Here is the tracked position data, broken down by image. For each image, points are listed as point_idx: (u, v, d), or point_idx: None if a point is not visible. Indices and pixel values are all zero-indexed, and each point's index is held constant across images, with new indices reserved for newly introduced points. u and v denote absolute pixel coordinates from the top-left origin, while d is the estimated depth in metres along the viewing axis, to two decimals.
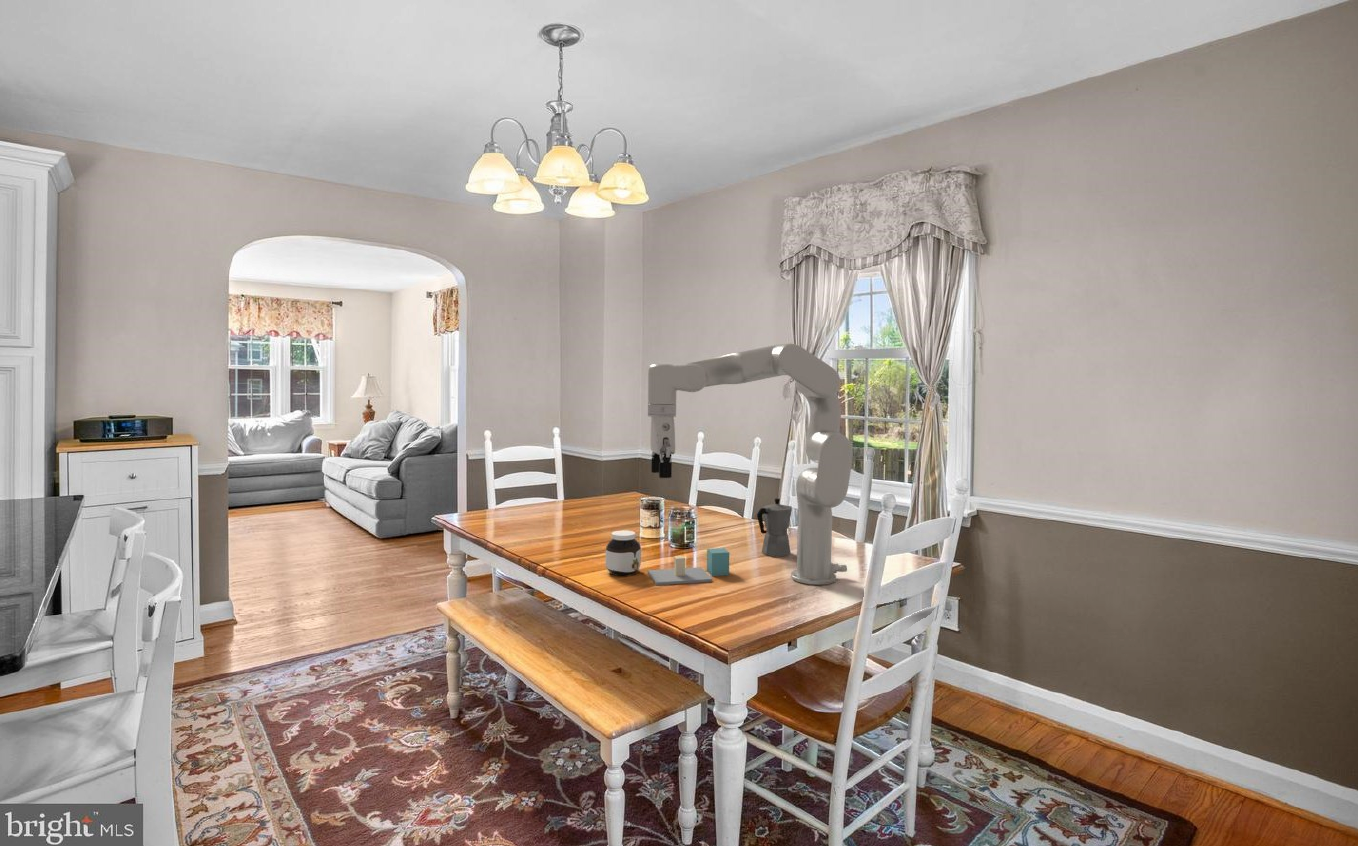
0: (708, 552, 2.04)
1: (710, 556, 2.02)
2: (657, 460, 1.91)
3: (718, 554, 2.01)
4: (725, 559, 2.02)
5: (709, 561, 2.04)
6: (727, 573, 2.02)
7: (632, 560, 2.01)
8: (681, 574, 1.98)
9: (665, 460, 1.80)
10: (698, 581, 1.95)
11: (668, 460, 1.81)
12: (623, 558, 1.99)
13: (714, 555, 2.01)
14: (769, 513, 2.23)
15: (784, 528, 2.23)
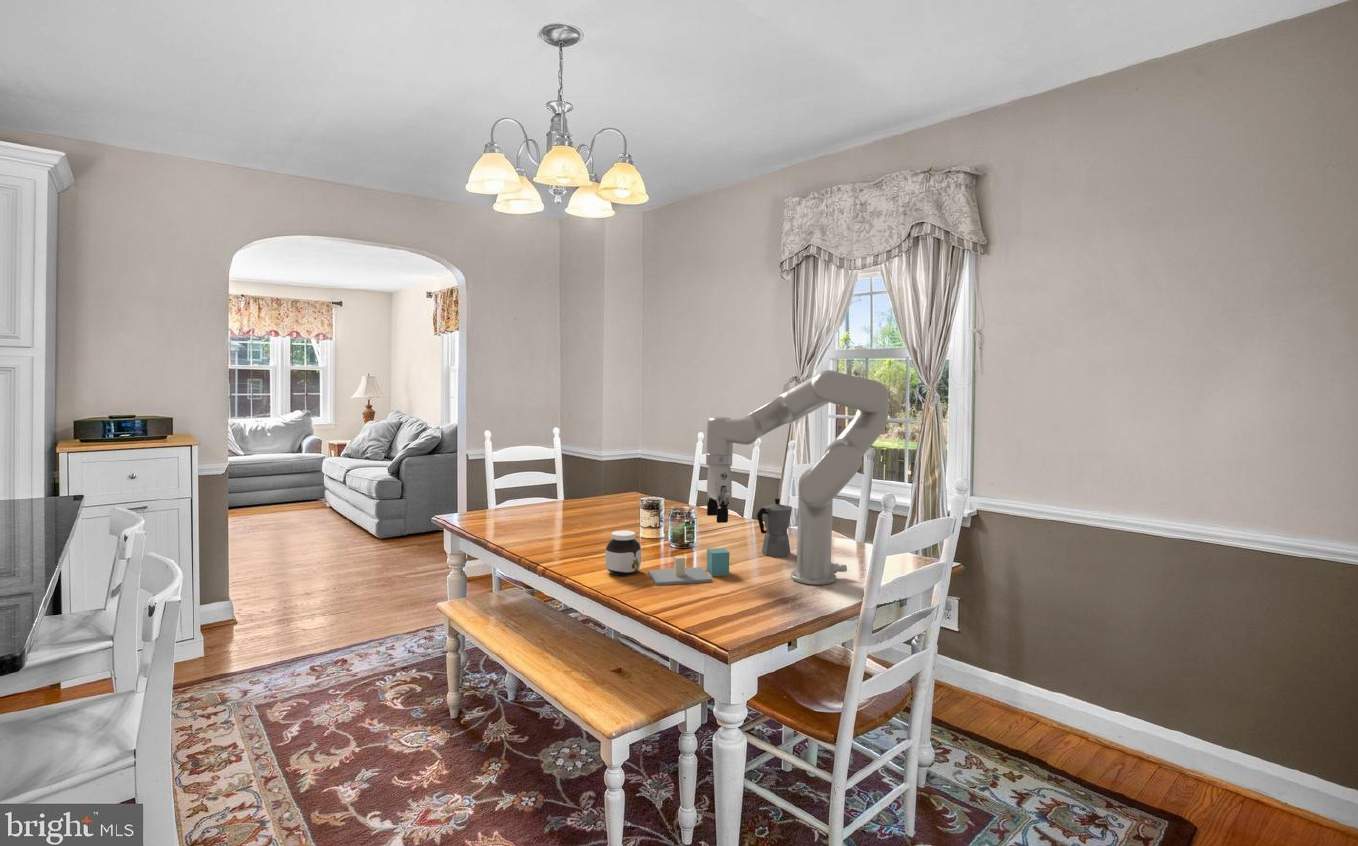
0: (708, 552, 2.04)
1: (710, 556, 2.02)
2: (712, 504, 2.07)
3: (718, 554, 2.01)
4: (725, 559, 2.02)
5: (709, 561, 2.04)
6: (727, 573, 2.02)
7: (632, 560, 2.01)
8: (681, 574, 1.98)
9: (723, 507, 1.96)
10: (698, 581, 1.95)
11: (725, 507, 1.97)
12: (623, 558, 1.99)
13: (714, 555, 2.01)
14: (769, 513, 2.23)
15: (784, 528, 2.23)
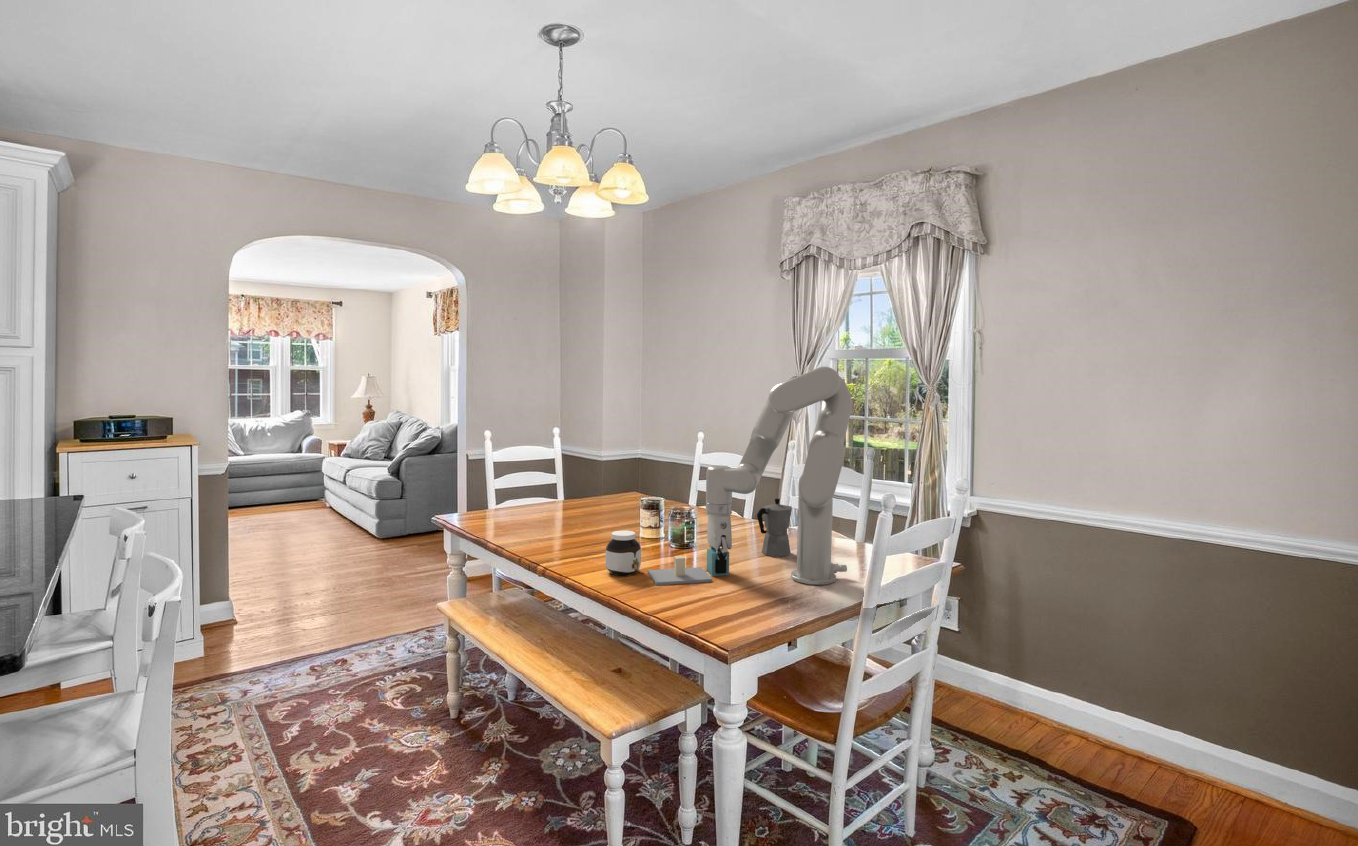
0: (708, 552, 2.04)
1: (710, 556, 2.02)
2: None
3: None
4: None
5: (709, 561, 2.04)
6: (727, 573, 2.02)
7: (632, 560, 2.01)
8: (681, 574, 1.98)
9: (721, 558, 1.99)
10: (698, 581, 1.95)
11: (724, 558, 2.00)
12: (623, 558, 1.99)
13: (714, 555, 2.01)
14: (769, 513, 2.23)
15: (784, 528, 2.23)
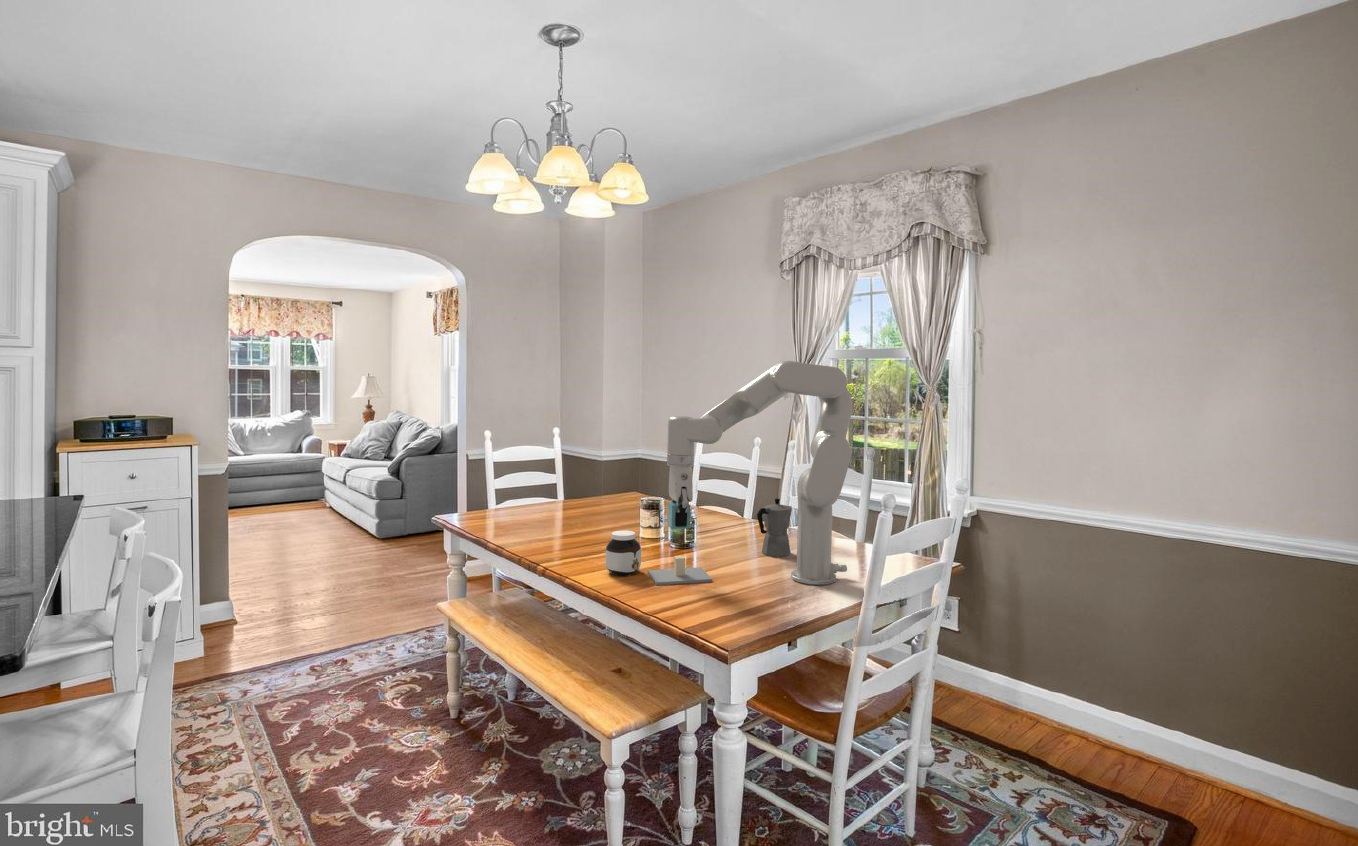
0: (669, 505, 1.98)
1: (670, 509, 1.96)
2: None
3: None
4: None
5: (669, 514, 1.98)
6: (687, 527, 1.96)
7: (632, 560, 2.01)
8: (681, 574, 1.98)
9: (681, 510, 1.93)
10: (698, 581, 1.95)
11: (684, 510, 1.94)
12: (623, 558, 1.99)
13: (674, 507, 1.95)
14: (769, 513, 2.23)
15: (784, 528, 2.23)
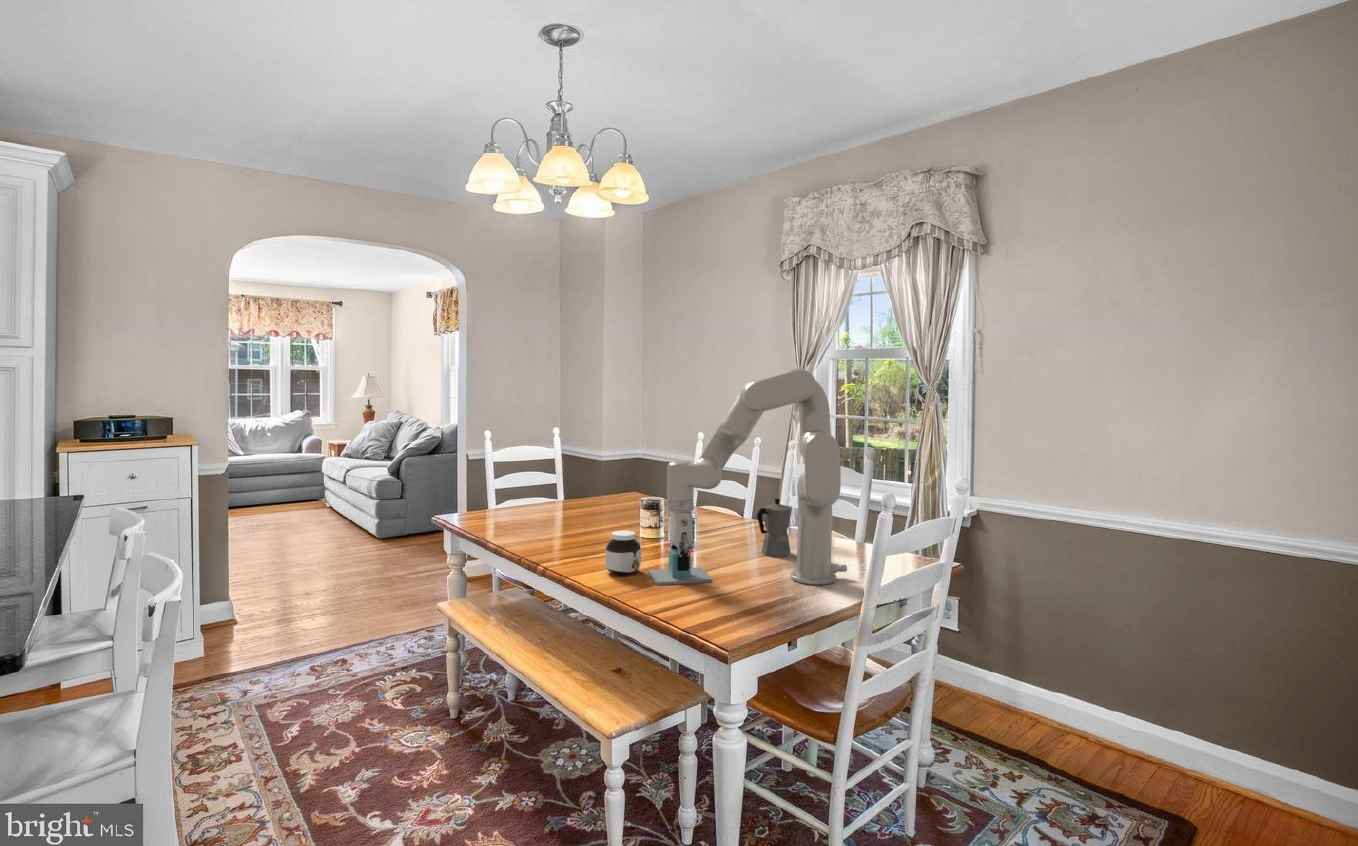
0: (669, 553, 1.99)
1: (671, 557, 1.97)
2: None
3: None
4: None
5: (670, 562, 1.99)
6: (688, 575, 1.97)
7: (632, 560, 2.01)
8: None
9: (683, 555, 1.93)
10: (698, 581, 1.95)
11: (686, 555, 1.93)
12: (623, 558, 1.99)
13: (675, 556, 1.96)
14: (769, 513, 2.23)
15: (784, 528, 2.23)
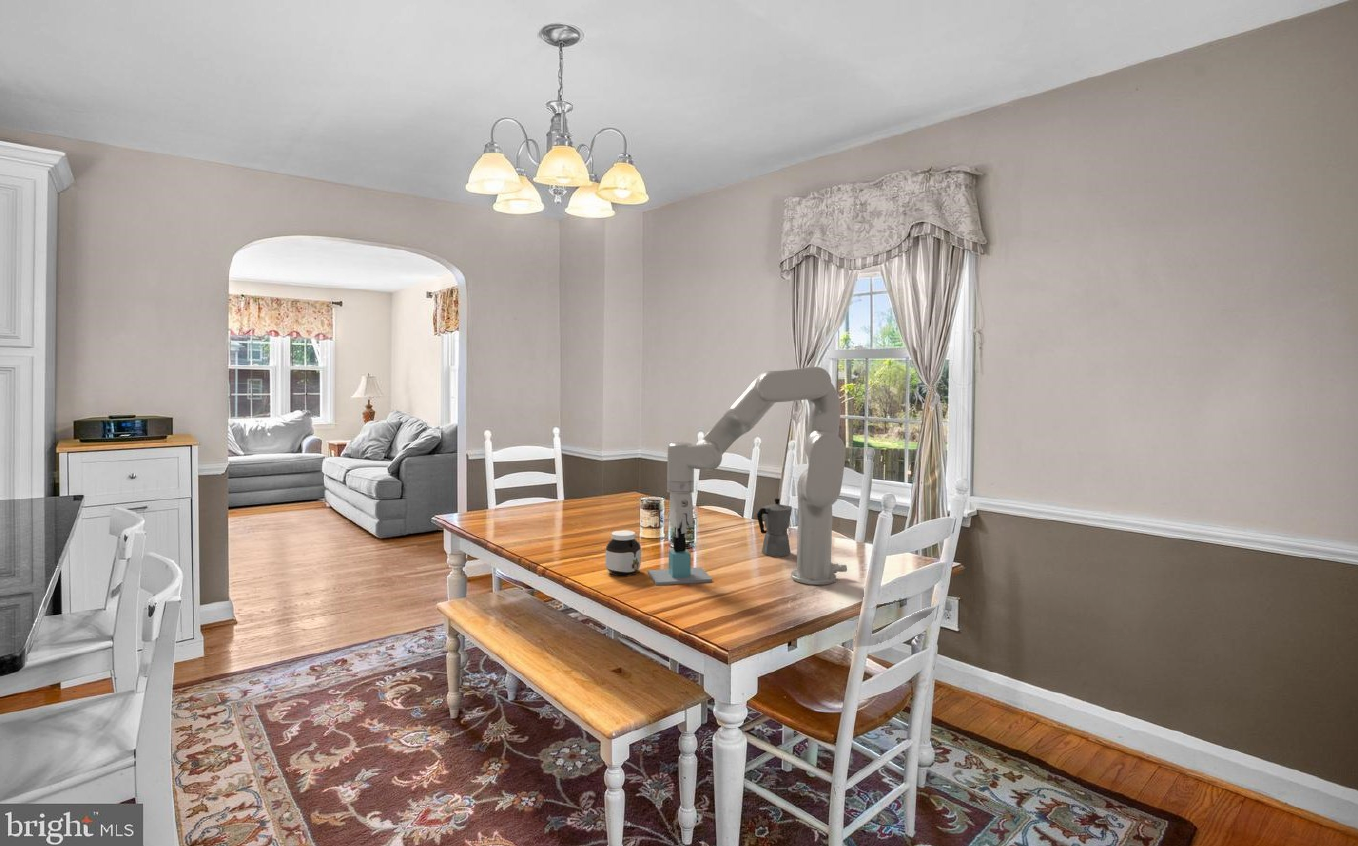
0: (669, 553, 1.99)
1: (671, 557, 1.97)
2: None
3: (679, 555, 1.96)
4: (686, 560, 1.97)
5: (670, 562, 1.99)
6: (688, 575, 1.97)
7: (632, 560, 2.01)
8: None
9: (680, 536, 1.96)
10: (698, 581, 1.95)
11: (683, 536, 1.97)
12: (623, 558, 1.99)
13: (675, 556, 1.96)
14: (769, 513, 2.23)
15: (784, 528, 2.23)
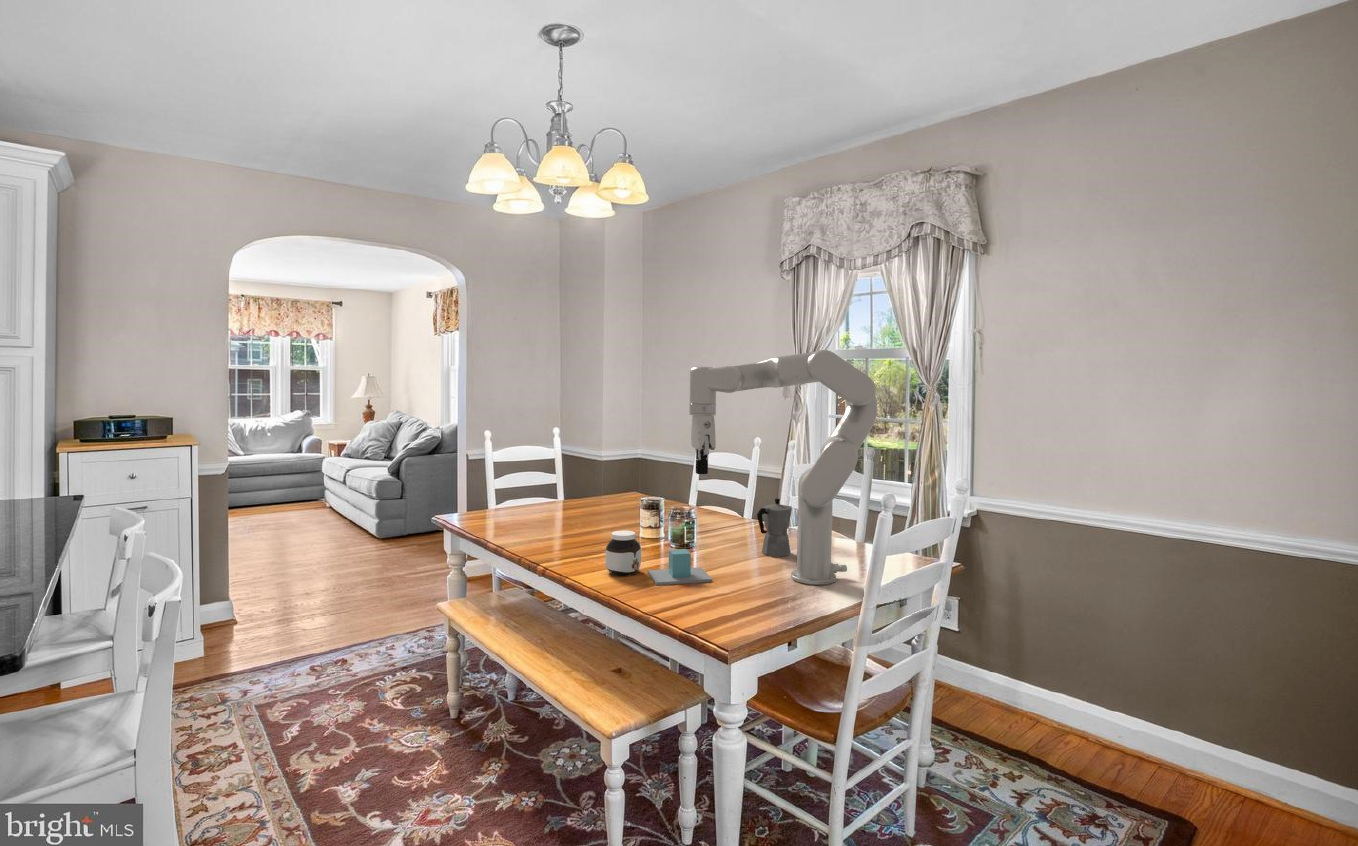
0: (669, 553, 1.99)
1: (671, 557, 1.97)
2: None
3: (679, 555, 1.96)
4: (686, 560, 1.97)
5: (670, 562, 1.99)
6: (688, 575, 1.97)
7: (632, 560, 2.01)
8: None
9: (702, 458, 1.99)
10: (698, 581, 1.95)
11: (705, 458, 2.00)
12: (623, 558, 1.99)
13: (675, 556, 1.96)
14: (769, 513, 2.23)
15: (784, 528, 2.23)
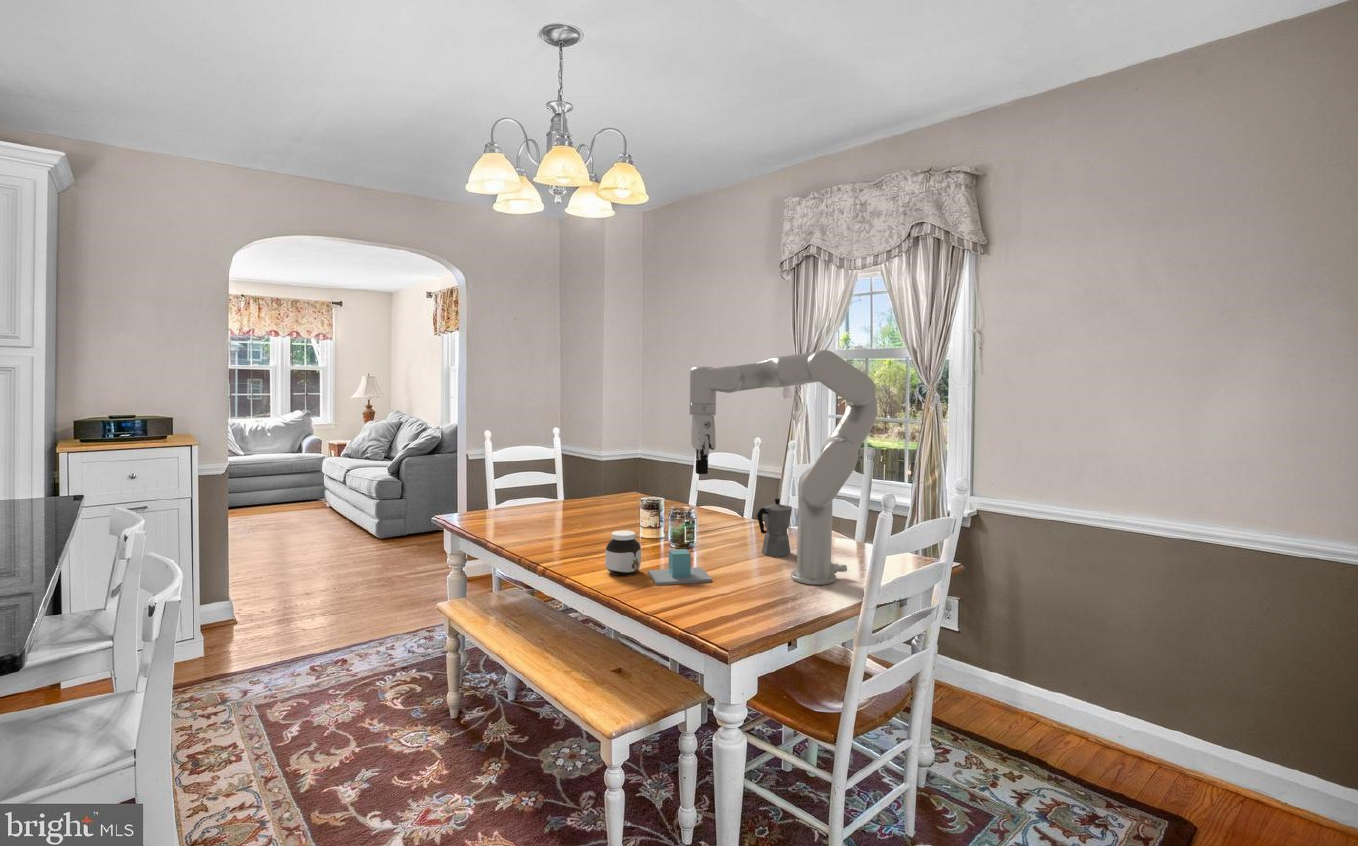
0: (669, 553, 1.99)
1: (671, 557, 1.97)
2: None
3: (679, 555, 1.96)
4: (686, 560, 1.97)
5: (670, 562, 1.99)
6: (688, 575, 1.97)
7: (632, 560, 2.01)
8: None
9: (702, 458, 1.99)
10: (698, 581, 1.95)
11: (705, 458, 2.00)
12: (623, 558, 1.99)
13: (675, 556, 1.96)
14: (769, 513, 2.23)
15: (784, 528, 2.23)
